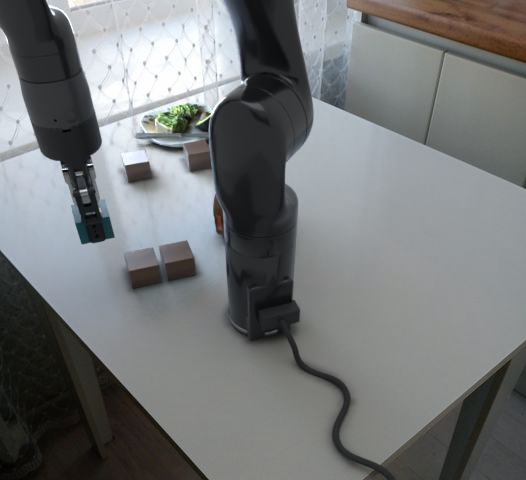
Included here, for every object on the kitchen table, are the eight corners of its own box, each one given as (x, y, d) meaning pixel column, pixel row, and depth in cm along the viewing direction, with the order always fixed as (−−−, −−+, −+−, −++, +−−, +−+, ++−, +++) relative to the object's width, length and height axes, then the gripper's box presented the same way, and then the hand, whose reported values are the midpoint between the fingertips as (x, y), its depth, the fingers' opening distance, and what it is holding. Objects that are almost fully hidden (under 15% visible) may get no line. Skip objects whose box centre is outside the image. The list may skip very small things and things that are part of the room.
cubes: (212, 167, 108) (211, 150, 106) (128, 182, 105) (124, 165, 102) (206, 156, 111) (205, 139, 109) (124, 170, 108) (120, 153, 105)
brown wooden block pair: (196, 274, 87) (194, 257, 85) (132, 288, 85) (128, 271, 82) (189, 257, 90) (187, 239, 87) (127, 270, 88) (123, 252, 85)
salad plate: (148, 163, 109) (145, 140, 106) (121, 124, 120) (117, 103, 116) (237, 141, 115) (236, 119, 112) (204, 106, 126) (202, 85, 122)
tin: (231, 246, 92) (228, 203, 86) (212, 244, 92) (209, 200, 86) (250, 196, 102) (249, 154, 95) (233, 194, 102) (232, 152, 96)
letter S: (115, 237, 77) (109, 215, 74) (81, 244, 76) (74, 222, 73) (109, 219, 80) (104, 197, 77) (77, 226, 79) (70, 203, 76)
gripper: (25, 91, 69) (63, 208, 82) (33, 144, 60) (74, 266, 73) (85, 82, 71) (114, 198, 83) (102, 132, 62) (131, 254, 74)
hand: (95, 229), depth 78 cm, fingers closed on letter S, 4 cm apart
